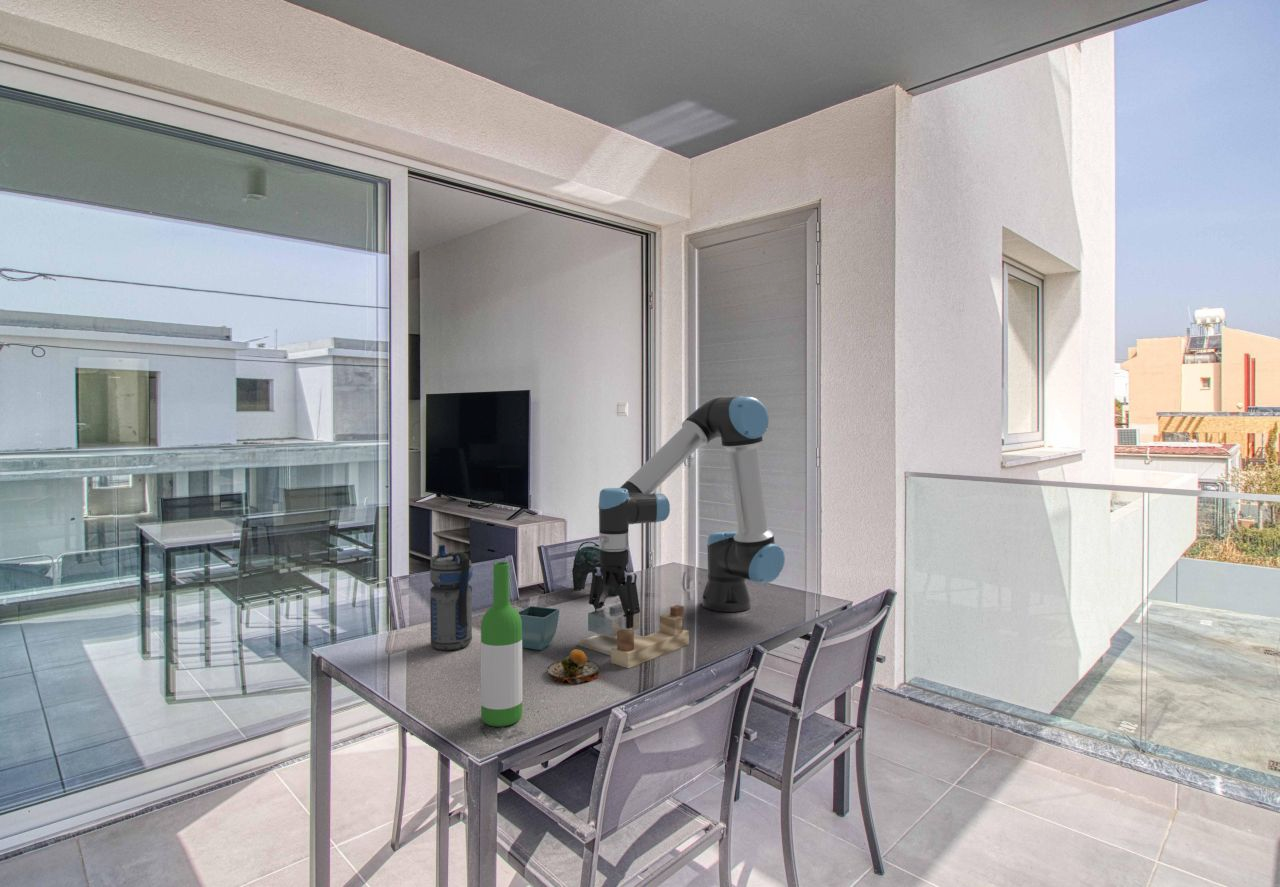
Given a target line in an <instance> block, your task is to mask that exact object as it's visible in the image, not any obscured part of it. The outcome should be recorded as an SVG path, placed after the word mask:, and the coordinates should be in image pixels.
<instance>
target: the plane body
mask: <svg viewBox="0 0 1280 887" xmlns="http://www.w3.org/2000/svg"><path fill="white" fill-rule="evenodd" d="M669 608H670V611H669V612H670V613H663V614H661V615H659V631H655V632H653V633H650V634H648V635H645V636H644V635H643V637H641V638H638V639H636V640H634V634H635V630H629V629H622V630H618V631H617V646H616V647H613V648H611V656H610V657H611V658H610V662H611V663H610V664H613V665H617V666H619V667H622V668H626V669H630V668H632V667H636V666H639V665H640V664H643V663H645V662H648V661H651V660H653V659H656V658H658V657H661V656H663V655H665V654H668V653H671V652H673V651H676V650H679V649H681V648H683V647H686V646H688V645H690V630H687V629H685V627H684V626H685V625H684V624H685V623H684V622H685V620H684V619H685V617H684V616H685V615H684V614H685V613H684V612H685V606H684V605H679V604H676V605H673V606H670V607H669Z"/></svg>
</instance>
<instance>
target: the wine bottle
mask: <svg viewBox="0 0 1280 887" xmlns="http://www.w3.org/2000/svg"><path fill="white" fill-rule="evenodd" d="M492 594H493V601H492V602H493V604H492V605H491V607H489V609H488V610H486V612H485V613H484V615H483V617H482V619H481V623H480V705H481V706H480V710H481V711H480V715H481V719H482V721H483V723H484V724H486V725H488V726H491V727H507V726H510V725H514V724H516V723H517V722H518V721H520V719H521V717H522V716H523V646H522V621H521V617H520V615H519V613H518V612H519V611H517V609H516V608H515V607H514V606H513V605H511V603H510V601H511V600H510V563H509V562H506V561H498V562H495V563H493V593H492Z"/></svg>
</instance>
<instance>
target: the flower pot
mask: <svg viewBox="0 0 1280 887" xmlns="http://www.w3.org/2000/svg"><path fill="white" fill-rule="evenodd" d="M518 613H519V615H520V617H521V621H522V648H523V649H531V650H537V651H541V650H543V649H545V648H546V647H547V646H549V645H550V644H551V643H552V641H553V638H554V637H555V635H556V632H557V628H558V623H559V617H560V616H559V615H560V609H559V608H552V607H545V606H543V607H542V606H535V605H534V606H533V605H530V606H527V607H525V608H523V609H522V610H519V611H518Z"/></svg>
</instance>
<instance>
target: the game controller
mask: <svg viewBox="0 0 1280 887" xmlns="http://www.w3.org/2000/svg"><path fill="white" fill-rule="evenodd" d="M585 544H593V545H586V546H583V545H585ZM582 546H583V547H582ZM600 549H601V548H600V547H599V543H598V544H597V543H596V542H594V541H585V542H582V543H581V544H580V545H579V546H578V548H577V552H576V553H575V556H574V559H573V565H572V570H571V571H572V572H571V574H572V575H571V576H572V583H573V590H576V589H580V590H579V591H582V590H581V589H583V590H585V589H584V588H586V582H587V579H588V575H589V574H590V573H591V574H592V568H596V567H601V564H600V563H599V551H600ZM620 586H622V585H620ZM607 596H614V597H617V596H618V597H619V595H618V591H617V590H615V587H614V586H612V585H611V586H610V588H609V591H608V594H607Z"/></svg>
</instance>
